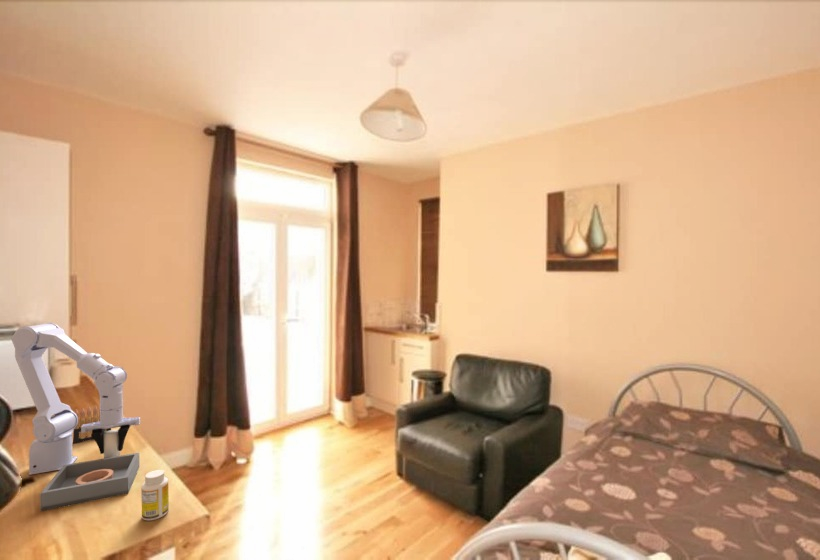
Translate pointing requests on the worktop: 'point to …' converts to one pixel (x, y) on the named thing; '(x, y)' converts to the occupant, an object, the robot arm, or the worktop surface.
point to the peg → (111, 443)
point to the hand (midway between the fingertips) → (111, 451)
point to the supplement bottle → (155, 495)
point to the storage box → (90, 481)
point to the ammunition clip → (77, 433)
